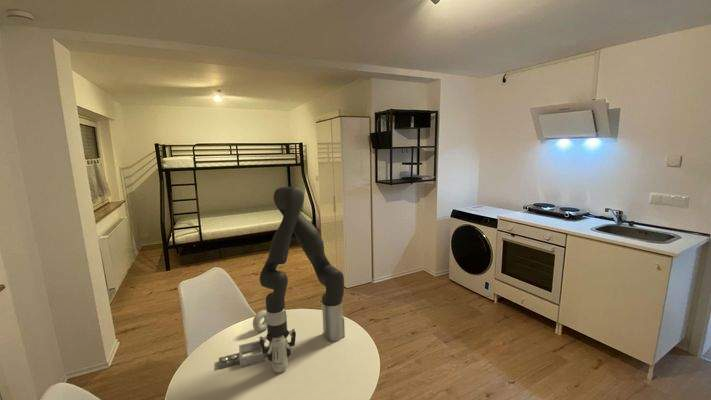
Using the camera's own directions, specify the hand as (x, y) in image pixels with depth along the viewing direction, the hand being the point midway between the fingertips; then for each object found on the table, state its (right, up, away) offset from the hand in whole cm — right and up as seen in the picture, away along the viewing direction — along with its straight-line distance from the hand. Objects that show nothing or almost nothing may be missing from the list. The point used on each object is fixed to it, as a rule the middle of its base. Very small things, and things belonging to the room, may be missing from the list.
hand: (279, 358), depth 121 cm
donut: (-15, -1, +27) cm, 31 cm away
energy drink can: (0, -5, +1) cm, 5 cm away
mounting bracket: (-14, -4, +8) cm, 16 cm away
